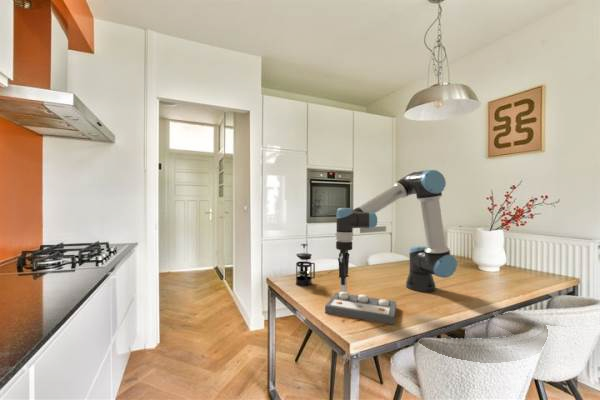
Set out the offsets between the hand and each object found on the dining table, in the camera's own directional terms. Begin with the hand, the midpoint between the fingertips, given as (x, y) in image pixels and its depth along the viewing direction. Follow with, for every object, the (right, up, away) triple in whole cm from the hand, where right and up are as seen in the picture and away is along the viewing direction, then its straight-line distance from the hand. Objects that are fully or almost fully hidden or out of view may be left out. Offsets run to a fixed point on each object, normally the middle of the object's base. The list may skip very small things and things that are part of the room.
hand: (343, 291), depth 127 cm
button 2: (+17, -5, -7) cm, 19 cm away
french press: (-18, -6, +30) cm, 36 cm away
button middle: (+8, -4, -3) cm, 10 cm away
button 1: (0, -4, 0) cm, 4 cm away
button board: (+7, -6, -7) cm, 12 cm away
